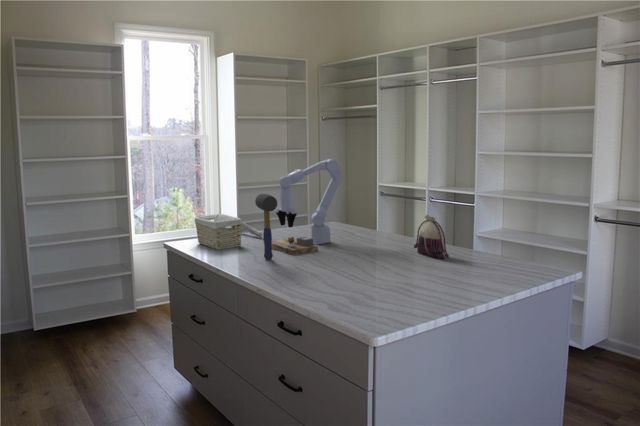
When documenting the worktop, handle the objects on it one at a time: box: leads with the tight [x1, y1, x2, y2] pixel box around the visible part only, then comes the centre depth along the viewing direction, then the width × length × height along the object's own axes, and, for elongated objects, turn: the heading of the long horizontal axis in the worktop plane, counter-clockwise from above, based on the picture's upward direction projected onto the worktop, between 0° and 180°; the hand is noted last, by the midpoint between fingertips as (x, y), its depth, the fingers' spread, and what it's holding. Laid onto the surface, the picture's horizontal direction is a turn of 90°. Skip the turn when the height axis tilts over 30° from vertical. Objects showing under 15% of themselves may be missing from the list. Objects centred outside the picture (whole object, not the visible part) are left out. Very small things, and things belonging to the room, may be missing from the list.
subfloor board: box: [271, 237, 319, 256], centre depth 274 cm, size 15×26×2 cm, turn 35°
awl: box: [287, 236, 295, 248], centre depth 267 cm, size 3×3×7 cm
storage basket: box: [194, 213, 243, 250], centre depth 287 cm, size 24×16×15 cm
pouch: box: [413, 214, 450, 260], centre depth 250 cm, size 25×8×19 cm, turn 33°
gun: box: [241, 221, 263, 239], centre depth 313 cm, size 2×30×8 cm, turn 37°
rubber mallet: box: [254, 193, 278, 261], centre depth 250 cm, size 12×8×30 cm, turn 24°
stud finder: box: [296, 236, 314, 246], centre depth 271 cm, size 5×7×3 cm
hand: (286, 226), depth 284 cm, fingers open, 7 cm apart
